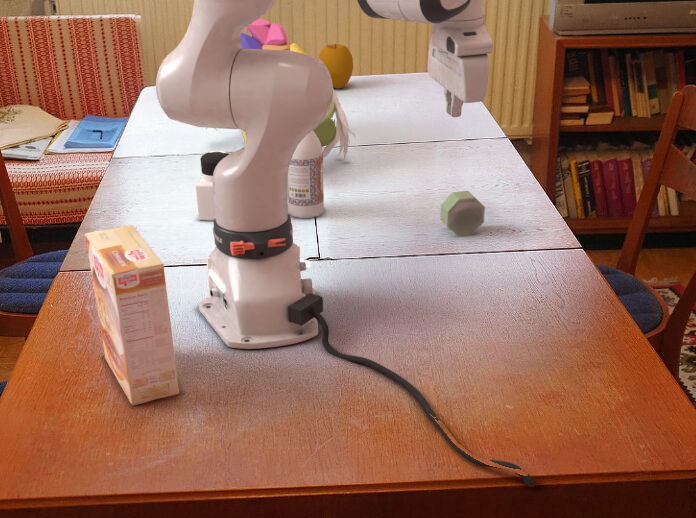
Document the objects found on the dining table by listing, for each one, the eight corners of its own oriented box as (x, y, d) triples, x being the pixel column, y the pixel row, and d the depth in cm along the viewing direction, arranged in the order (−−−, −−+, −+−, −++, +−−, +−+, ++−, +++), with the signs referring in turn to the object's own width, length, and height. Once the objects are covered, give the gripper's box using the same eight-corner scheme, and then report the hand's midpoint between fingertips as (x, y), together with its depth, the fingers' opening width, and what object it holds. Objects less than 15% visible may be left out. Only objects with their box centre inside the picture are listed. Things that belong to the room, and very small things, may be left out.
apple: (315, 92, 262) (314, 47, 256) (320, 83, 270) (319, 39, 264) (351, 92, 260) (350, 47, 254) (355, 83, 268) (355, 39, 262)
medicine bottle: (234, 222, 185) (229, 160, 178) (198, 220, 186) (192, 159, 180) (243, 208, 191) (239, 148, 184) (208, 207, 192) (203, 147, 186)
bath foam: (325, 218, 185) (322, 112, 174) (288, 219, 184) (284, 114, 174) (322, 205, 190) (320, 102, 180) (287, 206, 190) (283, 104, 180)
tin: (483, 233, 175) (485, 196, 172) (446, 237, 174) (448, 200, 171) (476, 225, 178) (478, 189, 175) (439, 230, 177) (441, 193, 174)
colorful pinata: (336, 98, 189) (249, -16, 202) (231, 200, 199) (154, 84, 212) (399, 149, 217) (319, 46, 229) (304, 236, 227) (233, 132, 239)
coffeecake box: (103, 357, 142) (82, 232, 131) (150, 347, 144) (134, 223, 134) (130, 407, 130) (110, 273, 119) (181, 394, 132) (165, 262, 122)
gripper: (420, 23, 173) (418, 101, 180) (460, 48, 156) (456, 133, 163) (453, 20, 174) (450, 97, 181) (497, 44, 157) (491, 129, 164)
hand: (453, 115), depth 172 cm, fingers closed
